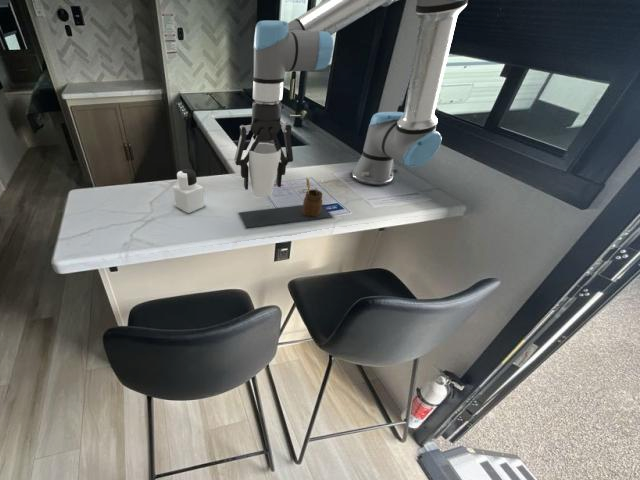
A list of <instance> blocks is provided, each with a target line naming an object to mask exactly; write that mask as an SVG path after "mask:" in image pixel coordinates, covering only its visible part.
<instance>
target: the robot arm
mask: <svg viewBox="0 0 640 480" xmlns="http://www.w3.org/2000/svg"><path fill="white" fill-rule="evenodd" d="M398 1H399V0H323V1H322V2H320V3H319V4H317V5H315V6H314V7H312V8H311V9H309V10H308V11H306V12H304V13H302V14H300V15H299V16H298V17H296V18H294V19H293V20H290V21H289V22H288V21H286V20H259V21H258V22H257V23H256V24H255V30H254V37H253V77H252V80H253V83H252V99H253V102H252V104H251V105H252V107H251V122H250V123H249V124H247V125H245V124H240V125H239V139H238V142H237V148H236V151H235V156H234V159H233V160H234V163H235V165H236V166H240V176H241V178H242V179H243V187H244V189H245V190H246V191H248V190H249V176H250V173H249V163H248V161H249V151H253V152H254V150H255V148H256V146H257V145H258V143H259V141H260V142H262V141H271V140H272V141H273V143H274V146H275V148H276V150H277V151H279V149H281V158H280V160H279V164H278V169H277V173H276V178H275V185H276V187H278V188H281V187H282V179H283V176H285V175H286V170H287V166H288V165H289V164H288V163H293V161H294V154H293V146H292V145H293V144H292V137H291V134H292V133H291V132H292V128H293V127H292V125H291V124H290V123H289V122H285V123H282V121H281V118H282V105H283V103H282V102H281V101H282V100H283V94H284V83H285V82H284V81H285V74H286V72H287V73H289V72H305V71H306V72H307V71H313V72H315V71H317V70H319V71H320V70H324V69H326V68H327V67H328V66H329V64H330V63H331V60H332V58H333V52H334V38H333V36H332V35H333V34H335V33H337V32H339V31H340V30H342V29H344V28H346V27H347V26H349V25H350V24H352V23H353V22H355V21H357V20H359V19H360V18H362V17H363V16H365V15H367V14H369V13H370V12H372V11H373V10H375V9H377V8H378V7H384V8H386V7H388V6H390V5H391V4H393V3H395V2H398ZM468 2H469V0H416V4H415V10H414V11H415V12H414V13H415V15H416V16H417V17H418V18H419V24H418V30H417V35H416V41H415V47H414V52H413V57H412V58H413V60H412V64H411V69H410V76H409V81H408V85H407V86H408V87H407V93H406V98H405V105H404V110H403V111H379V112H376V113H374V114H373V115H372V117H371V119H370V123H369V125H368V128H367V132H366V136H365V141H364V145H363V149H362V153H361V156H360V157H359V159H358V161H357V163H356V165H355V166H354V168H353V170H352V172H351V177H352V178H353V179H354V181H356V182H358V183H361V184H364V185H368V186H369V185H370V186H386V185H389V184H391V182H392V181H393V178H394V172H397V171H398V168H394V160H395V161H397V162H399V163H401V164H402V165H404V166H407V167H410V168H418V167H421V166H424V165H425V164H427V163H428V162H429V161H431V159H432V158H433V157H434V156H435V155H436V154H437V152H438V151H439V149H440V146H441V144H442V138H443V137H442V135H441V133H440V132H439V131H437V130H436V129H437V125H438V121H439V120H438V118H437V116H436V115H435V111H436V106H437V103H438V99H439V94H440V90H441V85H442V82H443V79H444V78H443V77H444V74H445V69H446V65H447V61H448V57H449V53H450V49H451V44H452V41H453V36H454V32H455V28H456V23H457V19H458V16H459V14H460V13H461V12H462V11H463V10H464V9H465V8H466V7H467V5H468ZM250 131H251V133H253V135H252V136H251V139H250V142H249V144H248V145H247V148H248V149H247V148H246V150H245V151H244V149H245V145H246V142H247V136H248V135H249V133H250ZM280 131H282V133H283V139H284V148H285V154H284V151H283V149H282V146H281V144H280V140H279V139H278V136H277V135H278V134H279V133H280ZM243 152H244V153H243ZM285 155H286V156H285Z"/></svg>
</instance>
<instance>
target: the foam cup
mask: <svg viewBox="0 0 640 480" xmlns="http://www.w3.org/2000/svg"><path fill="white" fill-rule="evenodd" d="M247 149H248V147H247V148H246V150H247ZM280 158H281V149H279V151H277V150H276V148H275V146H274V144H270V143H258V145H257V146H256V148H255V150H254V152H253V151H249V161H248V163H247V164H248V167H249V182H250V192H251V195H252V196H253V197H256V198H259V199H262V198H263V199H264V198H265V199H266V198H269V197H271V196H273V191H274V187H275V184H276V178H277V169H278V164H279V162H280V161H281V160H280Z"/></svg>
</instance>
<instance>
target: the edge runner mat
mask: <svg viewBox="0 0 640 480" xmlns="http://www.w3.org/2000/svg"><path fill="white" fill-rule="evenodd" d="M302 208H303V204H300V205H292V206H283V207H282V206H281V207H275V208H266V209H257V210H248V211H240V212H238V214H239V216H240V218H241V220H242V222H243V225H244V226H245V229H250V228H251V229H252V228H260V227H268V226H269V227H270V226H276V225H284V224H293V223H299V222H309V221H316V220H324V219H332V218H333V216H332V214H331V213H330V212H329V211H328V210H327V209H326V208H325V207H324V206H323V205H322V206H321V211H320V214H319V215H318V216H316V217H308V216H306V215H304V214H303V212H302Z"/></svg>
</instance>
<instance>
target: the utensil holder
mask: <svg viewBox="0 0 640 480" xmlns="http://www.w3.org/2000/svg"><path fill="white" fill-rule="evenodd" d="M305 180H306V188H307V190H306V192H305V197H304V198H303V202H302V205H303V208H302V212H303V214H304V215H306V216H308V217H316V216H318V215H319V214H320V211H321V206H323V199H322V198H323V190H324V189H325V187H326V183H323V182H325V179H322V181H320V182H317V187H316V189H310V188H311V186H310V179H309V178H308V177H305ZM321 184H322V187H321V190H319V189H318V188H320V185H321Z"/></svg>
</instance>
